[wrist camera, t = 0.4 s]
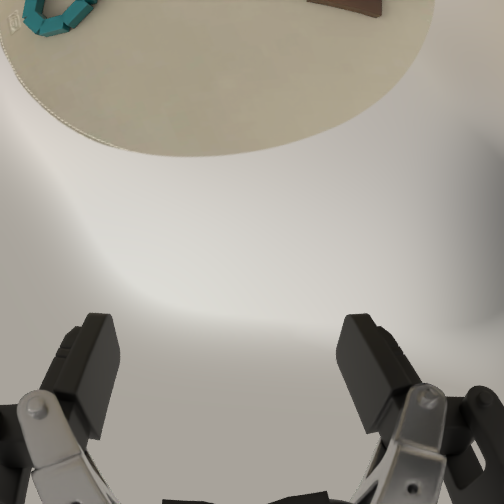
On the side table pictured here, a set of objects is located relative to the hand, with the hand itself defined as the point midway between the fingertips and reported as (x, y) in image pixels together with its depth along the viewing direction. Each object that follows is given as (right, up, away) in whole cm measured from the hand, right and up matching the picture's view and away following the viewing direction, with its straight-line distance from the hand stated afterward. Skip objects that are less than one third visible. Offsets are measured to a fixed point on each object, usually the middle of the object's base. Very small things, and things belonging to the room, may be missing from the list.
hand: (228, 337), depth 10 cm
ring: (-22, +33, +13) cm, 42 cm away
